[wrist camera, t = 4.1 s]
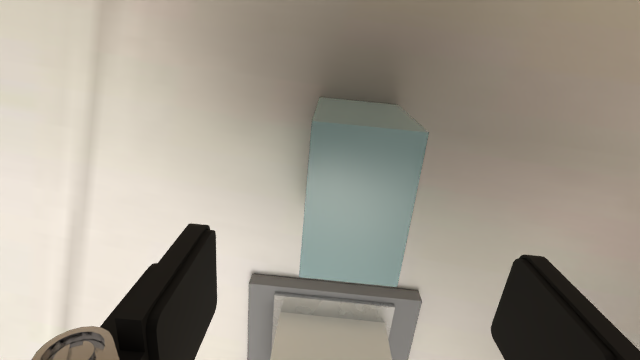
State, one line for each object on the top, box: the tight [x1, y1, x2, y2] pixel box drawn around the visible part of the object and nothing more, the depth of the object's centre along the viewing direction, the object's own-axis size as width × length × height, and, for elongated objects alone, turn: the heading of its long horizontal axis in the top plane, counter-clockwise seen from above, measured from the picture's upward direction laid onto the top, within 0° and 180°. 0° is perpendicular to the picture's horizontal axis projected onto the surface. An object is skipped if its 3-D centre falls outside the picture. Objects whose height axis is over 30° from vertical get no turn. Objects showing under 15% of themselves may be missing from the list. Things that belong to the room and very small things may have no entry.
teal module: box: [299, 97, 429, 287], centre depth 20 cm, size 5×8×8 cm, turn 175°
